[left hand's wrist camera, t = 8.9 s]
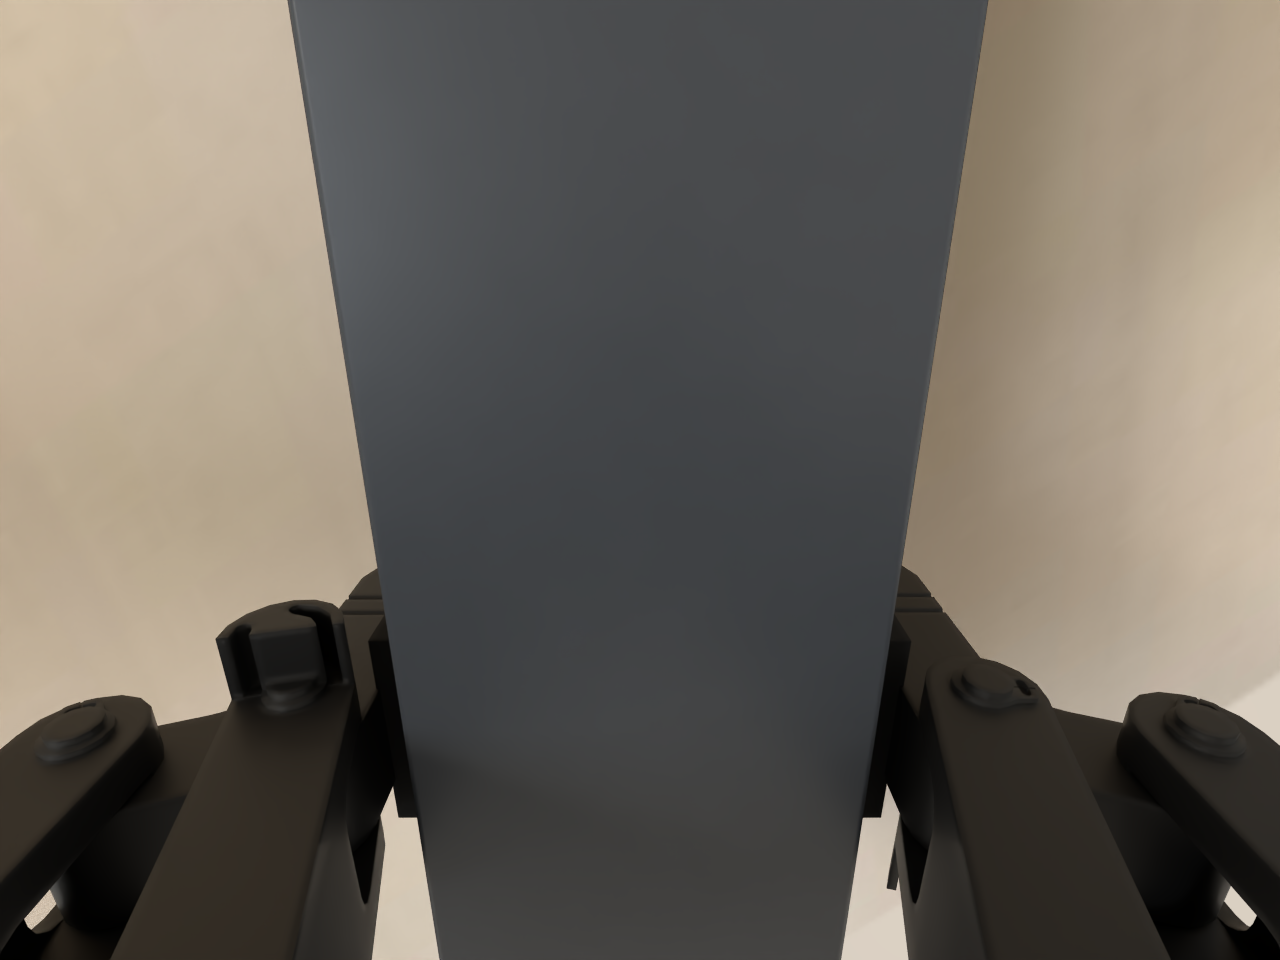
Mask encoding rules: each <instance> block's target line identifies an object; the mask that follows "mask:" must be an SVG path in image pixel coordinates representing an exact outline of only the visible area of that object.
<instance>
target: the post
mask: <svg viewBox="0 0 1280 960" xmlns="http://www.w3.org/2000/svg"><path fill="white" fill-rule="evenodd" d="M987 5H988V0H288V6H289V12H290V19H291V25H292V31H293V37H294V44H295V50H296V56H297V63H298V69H299V75H300V82H301V88H302V94H303V101H304V107H305V113H306V119H307V126H308V132H309V138H310V145H311V151H312V157H313V164H314V170H315V176H316V183H317V189H318V195H319V202H320V208H321V214H322V220H323V227H324V233H325V239H326V246H327V252H328V258H329V265H330V271H331V277H332V284H333V290H334V296H335V302H336V309H337V315H338V321H339V328H340V334H341V340H342V347H343V353H344V359H345V366H346V372H347V378H348V385H349V391H350V397H351V403H352V410H353V416H354V422H355V429H356V435H357V441H358V448H359V454H360V460H361V467H362V473H363V479H364V485H365V492H366V498H367V504H368V511H369V517H370V523H371V530H372V536H373V542H374V549H375V555H376V561H377V568H378V574H379V580H380V586H381V593H382V599H383V605H384V612H385V618H386V624H387V631H388V637H389V643H390V650H391V656H392V662H393V668H394V675H395V681H396V687H397V694H398V700H399V706H400V713H401V719H402V725H403V732H404V738H405V744H406V750H407V757H408V763H409V769H410V776H411V782H412V788H413V795H414V801H415V807H416V814H417V820H418V826H419V833H420V839H421V845H422V851H423V858H424V864H425V870H426V877H427V883H428V889H429V896H430V902H431V908H432V915H433V921H434V927H435V933H436V940H437V946H438V952H439V959H440V960H841V956H842V949H843V943H844V936H845V930H846V923H847V917H848V910H849V904H850V897H851V891H852V884H853V878H854V871H855V865H856V858H857V852H858V845H859V839H860V832H861V826H862V819H863V813H864V806H865V800H866V793H867V787H868V780H869V774H870V767H871V761H872V754H873V748H874V741H875V735H876V728H877V722H878V715H879V708H880V702H881V695H882V689H883V682H884V676H885V669H886V663H887V656H888V650H889V643H890V637H891V630H892V624H893V617H894V611H895V604H896V598H897V591H898V585H899V578H900V572H901V565H902V559H903V552H904V546H905V539H906V533H907V526H908V520H909V513H910V507H911V500H912V494H913V487H914V481H915V474H916V468H917V461H918V454H919V448H920V441H921V435H922V428H923V422H924V415H925V409H926V402H927V396H928V389H929V383H930V376H931V370H932V363H933V357H934V350H935V344H936V337H937V331H938V324H939V318H940V311H941V305H942V298H943V292H944V285H945V279H946V272H947V266H948V259H949V253H950V246H951V240H952V233H953V227H954V220H955V214H956V207H957V200H958V194H959V187H960V181H961V174H962V168H963V161H964V155H965V148H966V142H967V135H968V129H969V122H970V116H971V109H972V103H973V96H974V90H975V83H976V77H977V70H978V64H979V57H980V51H981V44H982V38H983V31H984V25H985V18H986V12H987Z"/></svg>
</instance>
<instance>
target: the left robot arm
mask: <svg viewBox="0 0 1280 960" xmlns="http://www.w3.org/2000/svg"><path fill="white" fill-rule="evenodd" d="M216 643H217V646H218V650H219V654H220V657H221V661H222V665H223V668H224V672H225V676H226V679H227V683H228V687H229V691H230V694H231V698H232V701H231V703H230V705H229V707H228V709H227V711H224V712H221V713H217V714H213V715H209V716H204V717H199V718H194V719H190V720H185V721H180V722H175V723H170V724H165V725H161V726H157V723H156V720H155V717H154V714H153V711H152V708H151V706H150V705H149V704H148V703H146V702H145V701H144V700H143V699H141V698H137V697H131V696H124V695H119V696H110V697H102V698H95V699H91V700H86V701H84V702H82V703H80V702H79V703H76V704H73V705H70V706H67V707H65V708H63V709H62V710H60V711H58V712H56V713H54V714H51V715H49V716H47V717H45V718H43V719H41V720H39V721H38V722H36V723H35V724H33V725H32V726H30V727H29V728H27V729H26V730H25V731H23V732H22V733H20V734H19V735H17V736H16V737H15V738H13V739H12V740H11V741H10V742H9V743H8V744H6V745H5V746H4V747H3V748H2V749H0V960H372V952H373V944H374V935H375V927H376V918H377V910H378V901H379V893H380V885H381V876H382V868H383V859H384V851H385V840H384V833H383V827H382V821H381V816H380V815H381V812H382V810H383V808H384V806H385V803H386V801H387V799H388V796H389V794H390V792H391V789H392V787H393V788H394V794H395V800H396V806H397V811H398V817H399V818H414V817H417V814H416V807H415V801H414V795H413V788H412V782H411V776H410V769H409V763H408V757H407V750H406V744H405V738H404V732H403V725H402V719H401V713H400V706H399V700H398V694H397V687H396V681H395V675H394V668H393V662H392V656H391V650H390V643H389V637H388V631H387V624H386V618H385V612H384V605H383V599H382V593H381V586H380V580H379V574H378V568H377V569H376V570H374V571H372V572H371V573H369V574H368V575H366V576H365V577H363V578H362V579H361V581H360V582H359V583H358V585H357V586H356V587H355V588H354V590H353V591H352V592H351V594H350V595H349V600H345V602H344V603H343V604H342V606H341V607H340V608H339V609H338V608H337V607H336V606H335V605H333V604H331V603H327V602H323V601H318V600H293V601H288V602H283V603H278V604H274V605H269V606H267V607H264V608H261V609H259V610H256V611H253V612H251V613H248V614H246V615H244V616H243V617H241V618H239V619H238V620H236V621H235V622H233V623H231V624H230V625H228V626H227V627H226V628H225V629H224V630H223V631H222V632H221V633H220V635H219V636H218V637H217V638H216ZM886 785H888V787H889V789H890V792H891V794H892V796H893V799H894V801H895V803H896V806H897V808H898V810H899V813H900V816H899V821H898V827H897V832H896V837H895V843H894V848H893V853H892V859H891V864H890V869H889V875H888V882H887V889H892V890H896V887H897V882H898V877H899V883H900V891H901V900H902V908H903V916H904V925H905V933H906V942H907V950H908V958H909V960H1280V745H1278V744H1277V743H1276V742H1275V741H1274V740H1272V739H1271V738H1270V737H1269V736H1268V735H1266V734H1265V733H1264V732H1262V731H1261V730H1260V729H1258V728H1257V727H1255V726H1254V725H1252V724H1251V723H1249V722H1248V721H1246V720H1245V719H1243V718H1242V717H1240V716H1238V715H1236V714H1234V713H1232V712H1230V711H1227V710H1225V709H1223V708H1221V707H1219V706H1218V705H1216V704H1214V703H1211V702H1208V701H1205V700H1202V699H1200V700H1199V699H1197V698H1196V697H1191V696H1187V695H1180V694H1172V693H1163V692H1155V693H1148V694H1142V695H1139V696H1137V697H1136V698H1135V699H1134V700H1133V701H1131V702H1130V703H1129V705H1128V708H1127V712H1126V715H1125V718H1124V721H1123V723H1120V722H1115V721H1110V720H1105V719H1100V718H1095V717H1090V716H1086V715H1081V714H1076V713H1071V712H1067V711H1063V710H1059V709H1056V708H1052V706H1051V704H1050V702H1049V700H1048V698H1047V697H1046V695H1045V694H1044V693H1043V692H1042V690H1041V689H1040V688H1039V686H1038V685H1037V684H1036V683H1034V682H1033V681H1031V680H1030V679H1029V678H1027V677H1026V676H1024V675H1023V674H1022V673H1020V672H1019V671H1017V670H1014V669H1012V668H1010V667H1007V666H1005V665H1003V664H1001V663H998V662H995V661H991V660H987V659H982V658H980V657H979V656H978V654H977V653H976V652H975V650H974V649H973V648H972V647H971V645H970V644H969V643H968V641H967V640H966V639H965V637H964V636H963V635H962V633H961V632H960V631H959V630H958V628H957V627H956V626H955V624H954V623H953V622H952V620H951V619H950V618H949V616H948V615H947V614H946V613H945V612H943V611H942V607H941V606H940V605H939V603H938V602H937V601H936V599H935V598H934V597H931V593H930V592H929V590H928V589H927V588H926V586H925V585H924V584H923V582H922V581H921V580H920V579H919V577H918V576H917V575H916V574H914V573H912V572H911V571H909V570H908V569H906V568H905V567H903V566H901V572H900V578H899V585H898V591H897V598H896V604H895V611H894V617H893V624H892V630H891V637H890V643H889V650H888V656H887V663H886V669H885V676H884V682H883V689H882V695H881V702H880V708H879V715H878V722H877V728H876V735H875V741H874V748H873V754H872V761H871V767H870V774H869V780H868V787H867V793H866V800H865V806H864V813H863V818H881V814H882V808H883V802H884V797H885V791H886ZM1230 886H1232V887H1233V889H1234V890H1235V891H1236V892H1237V893H1238V894H1239V895H1240V897H1241V898H1242V899H1243V900H1244V901H1245V902H1246V903H1247V905H1248V906H1249V907H1250V908H1251V909H1252V910H1253V911H1254V913H1255V914H1256V915H1257V917H1256V919H1255V921H1254V923H1253V924H1252V925H1251V926H1250V927H1249V926H1247V925H1246V924H1245V923H1244V922H1242V921H1241V920H1240V919H1239V918H1238V917H1237V916H1236V915H1235V914H1234V913H1233V911H1232V910H1231V909H1230V908H1229V907H1228V905H1227V904H1226V903H1225V902H1224V900H1225V898H1226V895H1227V893H1228V891H1229V889H1230ZM49 890H50V891H51V893H52V895H53V897H54V899H55V902H56V905H55V907H54V908H53V909H52V910H51V911H50V913H49V914H48V915H47V916H46V917H45V918H44V919H43V920H42V921H41V922H40V923H39V924H37V925H36V926H35V927H34V928H33V929H32V930H31V929H29V928H28V927H27V925H26V922H25V920H24V918H25V917H26V916H27V915H28V914H29V913H30V912H31V910H32V909H33V908H34V907H35V906H36V905H37V903H38V902H39V901H40V900H41V899H42V898H43V897H44V895H45V894H46V893H47V892H48V891H49Z"/></svg>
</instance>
